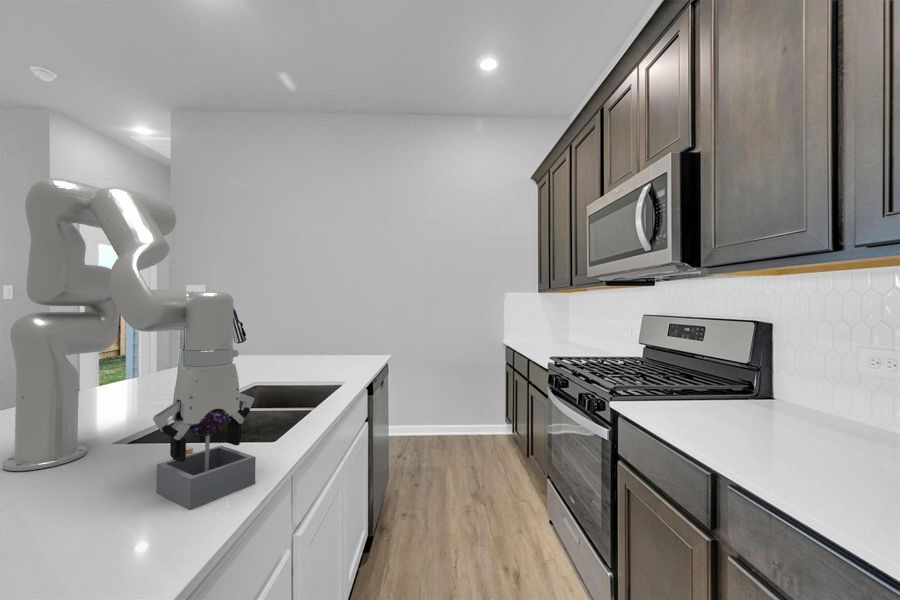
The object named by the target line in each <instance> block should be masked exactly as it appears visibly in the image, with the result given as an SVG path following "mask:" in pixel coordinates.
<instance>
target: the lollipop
mask: <svg viewBox="0 0 900 600" xmlns="http://www.w3.org/2000/svg"><path fill="white" fill-rule="evenodd" d="M228 421H229V414H228V413H226V411H225V410H223V409H214V410H211V411H210V412H208V413H207V414H206V415H205V417H204V418H203V419H201V421H200V423H199V424H197V425H192V426H190V428H189V430H190V431H191V432H192V433H194V434H195V435H197V436H200V437H205V440H204V441H205V442H204V443H205V445H204V446H205V448H204V450H205V472H206V471H209V449H210V439H211V438H210V437H211V436H213V435H216V434H217V433H219V432H220V431H221V430H223V428H224V427H225V426H226V425H227V423H228Z"/></svg>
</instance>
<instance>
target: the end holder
mask: <svg viewBox="0 0 900 600" xmlns="http://www.w3.org/2000/svg"><path fill="white" fill-rule="evenodd" d="M155 482H156V483H155V486H156V487H155V488H156V489H155V493H156V494H158V495H161V496H162V497H164V498H166V499H168V500H170V501H172V502H174V503H176V504H177V505H180V506H182V507H183V508H185V509H187V510H189V511H190V510H193V509H195V508H198V507H201V506H202V505H205V504H208V503H211V502H213V501H215V500H218V499H220V498H223V497H226V496H228V495H230V494H232V493H235V492H238V491H240V490H242V489H245V488H247V487H248V488H249V487H250V486H253V485H254V484H256V456H254V455H251V454H248V453H245V452H242V451H239V450H236V449H233V448H230V447H227V446H224V445H219V446H215V447H211V448H209V471H206V472H205V449H204V450H201V451H197V452H194V454H190V455H187V456H186V460H185V461H184V462H178V461H176V460H173V459H170V460H167V461H163V462H161V463H157V464H156V481H155Z"/></svg>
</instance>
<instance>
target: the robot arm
mask: <svg viewBox="0 0 900 600" xmlns="http://www.w3.org/2000/svg"><path fill="white" fill-rule="evenodd" d="M24 207H25V215H26V216H25V217H26V220H27V224H28V228H29V232H30V233H29V234H30V246H29V256H28V265H27V275H26V276H27V277H26V294H27V298H28V299H29V300H30V301H31V302H33V303H34V304H37V305H40V306H51V307H52V306H53V307H84V311H44V312H33V313H29V314H25V315H24V316H20V317H19V318H18V319H16V320H15V322H13V324H12V326H11V327H10V331H9V332H10V333H9V337H10V343H11V347H12V351H13V356H14V362H15V378H16V379H15V415H14V416H15V419H14V420H15V421H14V424H15V425H14V453H13V454H14V455H13V456H12V455H11V456H10V457H8V458H6V459H5V460H4V461H3V462H2V469H3V470H5V471H9V472H12V471H13V472H23V471H25V472H26V471H34V470H40V469H46V468H52V467H55V466H60V465H64V464H67V463H70V462H73V461H75V460H78V459H80V458H81V457H83V456H85V455H86V454H87V451H88V450H87V449H88V448H87V446H86V445H83V444H78V442H79V441H78V436H79V435H78V434H79V433H78V432H79V431H78V430H79V399H80V398H79V397H80V396H79V395H80V394H79V392H80V391H79V390H80V388H79V387H80V383H79V382H80V376H79V372H78V370H77V368H76V367H75V366H74V365H73V364H72V362H71V361H70V360H69V359H68V358H67V356H71V355H78V354H90V353H91V354H92V353H99V352H103V351H107V350H108V349H110V348H111V347H112V346H113V345H114V344H115V342H116V340H117V337H118V332H119V323H120V315H121V317H122V319H123V320H124V321H125V322H126V324H127V325H129V326H130V327H131V328H132V329H134V330H136V331H140V332H147V333H149V332H162V331H163V332H165V331H167V332H169V331H185V342H184V343H185V344H184V346H185V347H184V349H185V350H184V351H185V352H184V367H183V366H182V367H180V368H179V369H178V374H177V375H176V376H177V377H176V380H175V383H174V384H175V385H174V391H173V399H172V400H173V401H172V404H170V405H169V406H167V407H166V408H164V409H163V410H161V411H160V412H158V413H157V414H155V415H154V416H153V418H152V420H153V423H154V424H155V425H156V427H157V428H158V430H159V431H160V433H163V434H164V435H165V436H167V437H168V438H170V449H169V451H170V452H169V454H170V457H171V458H172V460H176V461H178V462H184V461H185V460H186V447H187V439H186V438H185V437H184V436H185V434H186V433H187V432H188V431H189V430H190V426H192V425H197V424H199V423H200V421H201V419H203V418H204V417H205V415H206V414H207V413H208V412H210V411H211V410H214V409H223V410H225V411H226V413H228V414H229V419H228V421H229V420H230V421H229V422H228V421H227V423H226V428H227V429H226V442H227V444H230V445H232V446H240V444H241V443H240V442H241V438H242V424H243V423H244V422H245V419H246V417H247V416H248V415H249V413H250V411H251V408H252V405H253V403H254V401H255V398H254V397H253V396H250V395H247V394H244V393H242V392H240V382H239V376H238V375H239V374H238V370H237V365H236V364H235V363H233V361H234V358H237V357H238V356H239V351H238V350H237V349H234V347H233V346H234V345H233V344H234V339H233V338H234V334H233V333H234V298H233V296H232V295H231V294H230V293H228V292H222V291H193V290H189V291H188V290H176V289H175V290H174V289H172V290H171V289H151V288H150V287H149V286H148V284H147V283H146V281H145V280H144V277H143V276H142V273H141V271H143V270H146V269H148V268H151V267H153V266H156V265H158V264H159V263H161V262H162V261H164V260H165V259H166V258H167V256H168V255H169V253H170V245H169V242H168V241H167V240H166V238H165V236H169V235H170V234H171V233H172V232H173V231H174V229H175V227H176V224H177V216H176V211H175V210H174V208H173V207H172V205H171V204H170V202H168V201H166V200H164V199H163V198H161V197H158V196H154V195H151V194H147V193H143V192H139V191H136V190H132V189H129V188H123V187H116V186H114V187H112V186H108V187H103V188H101V187H98V186H95V185H91V184H87V183H83V182H79V181H74V180H71V179H64V178H54V177H53V178H52V177H51V178H43V179H39V180H38V181H36V182H35V183H33V184H32V185H31V187H30V188H29V189H28V193H27V195H26V197H25V205H24ZM74 224H79V225H85V226H90V227H95V228H100V229H102V232H103V233H104V234H105V236H106V239H107V240H108V241H109V243H110V245H111V247H112V249H113V250H114V252H115V254H116V256H117V259H116V260H114V263H113V265H112V267H111V268H109V267H107V266H102V265H95V264H86V261H85V260H86V251H87V244H86V242H85V239H84V238H83V236H82V234H81V233H80V231H79V229H78V228H77V227H76V226H75V225H74ZM240 402H242V405H241V403H240ZM240 405H241V406H240ZM170 417H172V421H173V422H174V424H173V425H172V426H171V425H170V424H169V421H168V419H169V418H170Z"/></svg>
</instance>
